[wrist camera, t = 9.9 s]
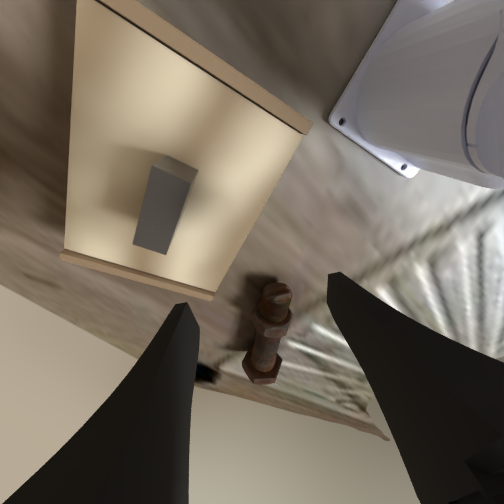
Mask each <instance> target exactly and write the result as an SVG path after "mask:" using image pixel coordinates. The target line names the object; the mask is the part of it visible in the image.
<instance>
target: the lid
mask: <svg viewBox="0 0 504 504" xmlns="http://www.w3.org/2000/svg"><path fill="white" fill-rule="evenodd" d="M302 138H303V136H302V135H301V134H299V133H297V132H296V131H294V130H293V129H291V128H290V127H288V126H287V125H285V124H284V123H282V122H281V121H279V120H277V119H276V118H274V117H273V116H271V115H270V114H268V113H267V112H265V111H264V110H262V109H261V108H259V107H257V106H256V105H254V104H253V103H251V102H250V101H248V100H247V99H245V98H244V97H242V96H241V95H239V94H237V93H236V92H234V91H233V90H231V89H230V88H228V87H227V86H225V85H224V84H222V83H221V82H219V81H217V80H216V79H214V78H213V77H211V76H210V75H208V74H207V73H205V72H204V71H202V70H201V69H199V68H197V67H196V66H194V65H193V64H191V63H190V62H188V61H187V60H185V59H184V58H182V57H181V56H179V55H177V54H176V53H174V52H173V51H171V50H170V49H168V48H167V47H165V46H164V45H162V44H161V43H159V42H157V41H156V40H154V39H153V38H151V37H150V36H148V35H147V34H145V33H144V32H142V31H140V30H139V29H137V28H136V27H134V26H133V25H131V24H130V23H128V22H127V21H125V20H124V19H122V18H120V17H119V16H117V15H116V14H114V13H113V12H111V11H110V10H108V9H107V8H105V7H104V6H102V5H100V4H99V3H97V2H96V1H94V0H77V6H76V26H75V46H74V66H73V85H72V105H71V125H70V145H69V165H68V184H67V204H66V224H65V244H64V249H68V250H71V251H75V252H78V253H81V254H85V255H88V256H92V257H95V258H99V259H102V260H105V261H109V262H112V263H116V264H119V265H123V266H126V267H130V268H133V269H136V270H140V271H143V272H147V273H150V274H154V275H157V276H160V277H164V278H167V279H171V280H174V281H178V282H181V283H185V284H188V285H191V286H195V287H198V288H202V289H205V290H209V291H212V292H216V290H217V288H218V286H219V285H220V283H221V281H222V279H223V277H224V276H225V274H226V272H227V270H228V269H229V267H230V265H231V263H232V262H233V260H234V258H235V256H236V254H237V253H238V251H239V249H240V247H241V246H242V244H243V242H244V240H245V239H246V237H247V235H248V233H249V231H250V230H251V228H252V226H253V224H254V223H255V221H256V219H257V217H258V216H259V214H260V212H261V210H262V208H263V207H264V205H265V203H266V201H267V200H268V198H269V196H270V194H271V193H272V191H273V189H274V187H275V185H276V184H277V182H278V180H279V178H280V177H281V175H282V173H283V171H284V170H285V168H286V166H287V164H288V162H289V161H290V159H291V157H292V155H293V154H294V152H295V150H296V148H297V147H298V145H299V143H300V141H301V139H302Z"/></svg>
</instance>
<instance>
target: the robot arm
mask: <svg viewBox="0 0 504 504" xmlns="http://www.w3.org/2000/svg"><path fill="white" fill-rule="evenodd" d="M341 118H343V124H342V125H339V120H340V119H341ZM329 123H330V125H332V126H333V127H334V128H336V129H337V130H339V131H340V132H341V133H343V134H344V135H346V136H347V137H348V138H350V139H351V140H353V141H354V142H355V143H357V144H358V145H360V146H361V147H362V148H364V149H365V150H367V151H368V152H370V153H371V154H372V155H374V156H375V157H377V158H378V159H379V160H381V161H382V162H384V163H385V164H386V165H388V166H389V167H391V168H392V169H393V170H395V171H396V172H398V173H399V174H400V175H402V176H403V177H405V178H412V177H413V176H414V175H415V174H416V173H417V172H418V171H419V170H420V169H423V170H426V171H430V172H433V173H437V174H440V175H443V176H447V177H450V178H454V179H457V180H461V181H464V182H467V183H471V184H474V185H478V186H481V187H486V188H492V189H504V0H454V1H452V2H450V3H448V4H447V3H446V1H445V0H398V1H397V3H396V4H395V6H394V8H393V9H392V11H391V13H390V14H389V16H388V18H387V19H386V21H385V23H384V24H383V26H382V28H381V29H380V31H379V33H378V35H377V36H376V38H375V40H374V41H373V43H372V45H371V46H370V48H369V50H368V51H367V53H366V55H365V56H364V58H363V60H362V61H361V63H360V65H359V66H358V68H357V70H356V71H355V73H354V75H353V77H352V78H351V80H350V82H349V83H348V85H347V87H346V88H345V90H344V92H343V93H342V95H341V97H340V98H339V100H338V102H337V103H336V105H335V107H334V108H333V110H332V112H331V113H330V116H329ZM403 164H404V166H403V168H402V169H401V166H402V165H403ZM327 304H328V307H329V309H330V312H331V314H332V316H333V318H334V321H335V322H336V324H337V326H338V328H339V329H340V331H341V333H342V335H343V336H344V338H345V340H346V341H347V343H348V345H349V347H350V348H351V350H352V352H353V353H354V355H355V357H356V359H357V360H358V362H359V364H360V366H361V367H362V369H363V371H364V373H365V375H366V377H367V380H368V382H369V384H370V386H371V388H372V390H373V392H374V394H375V397H376V399H377V401H378V403H379V405H380V408H381V410H382V412H383V414H384V417H385V419H386V421H387V423H388V426H389V428H390V430H391V433H392V435H393V438H394V440H395V442H396V445H397V447H398V449H399V452H400V454H401V457H402V459H403V462H404V464H405V467H406V469H407V471H408V474H409V477H410V479H411V482H412V484H413V487H414V489H415V492H416V495H417V497H418V499H419V501H420V503H421V504H504V363H503V362H501V361H498V360H496V359H494V358H491V357H489V356H487V355H484V354H482V353H480V352H477V351H475V350H473V349H471V348H468V347H466V346H464V345H462V344H460V343H458V342H456V341H454V340H451V339H449V338H447V337H445V336H443V335H441V334H439V333H437V332H435V331H433V330H431V329H429V328H428V327H426V326H424V325H422V324H420V323H418V322H416V321H415V320H413V319H411V318H409V317H407V316H406V315H404V314H402V313H401V312H399V311H397V310H396V309H394V308H392V307H391V306H389V305H388V304H386V303H385V302H383V301H381V300H380V299H378V298H377V297H375V296H374V295H372V294H371V293H369V292H368V291H367V290H365V289H364V288H362V287H361V286H359V285H358V284H357V283H355V282H354V281H352V280H351V279H350V278H348V277H347V276H345V275H344V274H343V273H341V272H337V273H332V274H328V287H327ZM199 338H200V327H199V325H198V323H197V321H196V319H195V317H194V315H193V313H192V311H191V309H190V307H189V305H188V303H187V302H185V303H180V304H175V306H174V307H173V309H172V310H171V312H170V313H169V315H168V316H167V318H166V320H165V321H164V323H163V324H162V326H161V327H160V329H159V331H158V332H157V334H156V335H155V337H154V338H153V340H152V341H151V343H150V344H149V346H148V347H147V348H146V350H145V351H144V353H143V354H142V355H141V357H140V358H139V360H138V361H137V362H136V364H135V365H134V367H133V368H132V369H131V371H130V372H129V373H128V374H127V376H126V377H125V378H124V379H123V381H122V382H121V383H120V384H119V386H118V387H117V388H116V389H115V391H114V392H113V393H112V394H111V395H110V397H108V399H107V400H106V401H105V402H104V403H103V404H102V405H101V406H100V407H99V409H98V410H97V411H96V412H95V413H94V414H93V415H92V416H91V417H90V418H89V420H88V421H87V422H86V423H85V424H84V425H83V426H82V427H81V428H80V429H79V430H78V432H76V433H75V434H74V435H73V436H72V437H71V439H70V440H69V441H68V442H67V443H66V444H65V445H64V446H63V447H62V448H61V449H60V450H59V451H58V452H57V453H56V454H55V455H54V456H53V457H52V458H51V459H50V460H48V461H47V462H46V463H45V465H43V466H42V467H41V468H40V469H39V470H38V471H37V472H36V473H35V474H34V475H33V476H32V477H31V478H29V479H28V480H27V481H26V482H25V483H24V484H23V485H22V486H21V487H20V488H19V489H18V490H17V491H16V492H14V493H13V494H12V495H11V496H10V497H9V498H8V499H7V500H6V501H5V502H4V503H3V504H189V503H188V502H189V498H188V497H189V494H188V488H189V444H190V442H189V441H190V420H191V405H192V395H193V389H194V382H195V375H196V368H197V360H198V353H199Z"/></svg>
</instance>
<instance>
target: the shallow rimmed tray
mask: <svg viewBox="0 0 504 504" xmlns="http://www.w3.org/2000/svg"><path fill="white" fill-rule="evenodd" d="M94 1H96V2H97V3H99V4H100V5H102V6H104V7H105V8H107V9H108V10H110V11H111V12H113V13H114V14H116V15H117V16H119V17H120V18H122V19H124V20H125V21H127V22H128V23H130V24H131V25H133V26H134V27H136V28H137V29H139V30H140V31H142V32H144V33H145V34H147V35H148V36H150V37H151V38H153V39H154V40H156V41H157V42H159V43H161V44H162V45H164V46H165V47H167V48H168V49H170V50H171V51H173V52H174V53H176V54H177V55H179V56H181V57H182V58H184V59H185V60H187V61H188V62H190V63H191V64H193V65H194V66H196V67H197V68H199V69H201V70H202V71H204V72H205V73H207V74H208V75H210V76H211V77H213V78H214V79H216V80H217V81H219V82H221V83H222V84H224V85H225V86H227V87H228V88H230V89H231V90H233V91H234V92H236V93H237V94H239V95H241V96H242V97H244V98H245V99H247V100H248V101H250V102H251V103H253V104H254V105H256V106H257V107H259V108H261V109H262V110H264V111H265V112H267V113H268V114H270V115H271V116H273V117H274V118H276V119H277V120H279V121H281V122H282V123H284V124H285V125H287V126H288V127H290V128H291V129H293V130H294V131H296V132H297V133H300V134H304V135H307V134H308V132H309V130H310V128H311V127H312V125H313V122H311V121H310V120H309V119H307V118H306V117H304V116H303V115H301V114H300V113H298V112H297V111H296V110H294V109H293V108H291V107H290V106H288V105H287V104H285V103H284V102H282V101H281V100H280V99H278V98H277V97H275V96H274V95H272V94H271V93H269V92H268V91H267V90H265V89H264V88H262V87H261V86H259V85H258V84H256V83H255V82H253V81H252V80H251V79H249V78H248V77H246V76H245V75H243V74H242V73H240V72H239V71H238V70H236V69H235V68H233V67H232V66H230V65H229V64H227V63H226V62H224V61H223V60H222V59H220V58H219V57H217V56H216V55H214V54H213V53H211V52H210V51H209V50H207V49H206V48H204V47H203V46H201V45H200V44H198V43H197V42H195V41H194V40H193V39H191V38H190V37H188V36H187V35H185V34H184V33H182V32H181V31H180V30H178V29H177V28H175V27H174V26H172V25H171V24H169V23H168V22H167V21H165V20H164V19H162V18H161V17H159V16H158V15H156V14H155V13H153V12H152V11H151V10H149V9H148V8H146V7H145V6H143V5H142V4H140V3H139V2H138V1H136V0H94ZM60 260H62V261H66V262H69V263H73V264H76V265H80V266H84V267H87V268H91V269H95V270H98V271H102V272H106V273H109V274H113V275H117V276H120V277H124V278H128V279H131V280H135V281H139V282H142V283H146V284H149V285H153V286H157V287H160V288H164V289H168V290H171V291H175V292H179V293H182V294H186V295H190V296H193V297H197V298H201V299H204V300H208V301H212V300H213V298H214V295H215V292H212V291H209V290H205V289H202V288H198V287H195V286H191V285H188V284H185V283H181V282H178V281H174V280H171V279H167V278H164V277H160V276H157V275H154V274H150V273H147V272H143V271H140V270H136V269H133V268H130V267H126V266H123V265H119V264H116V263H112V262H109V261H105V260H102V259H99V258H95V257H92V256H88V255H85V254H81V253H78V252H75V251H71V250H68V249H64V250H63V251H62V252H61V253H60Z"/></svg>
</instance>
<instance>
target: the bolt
mask: <svg viewBox="0 0 504 504" xmlns="http://www.w3.org/2000/svg"><path fill="white" fill-rule="evenodd" d="M290 291H291V290H290V289H289V287H288V286H287V285H286V284H284V283H270V284H267V285H266V286H265V287H264V288H263V295H262V301H260V302H259V303H258V304H257V306H256V307H255V309H254V311H253V313H252V318H251V321H252V323H253V325H254V326H255V328H256V329H257V331H256V336H255V342H254V346H250V348H249V350H248V351H247V353H246V355H245V357H244V359H243V361H242V367H243V369H244V371H245V373H246V374H247V376H248V378H249V379H250V380H251V381H252V382H253V384H259V385H266V384H272V383H275V381H276V378H277V375H278V372H279V369H280V366H281V363H282V358H281V357H280V356H279V355H278V354H277V350H278V347H279V343H280V339H281V337H283V336H286V334H287V331H288V328H289V326H290V323H291V320H292V316H293V313H292V312H291V310H290V309H289V305H290V302H291V298H292V292H290Z"/></svg>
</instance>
